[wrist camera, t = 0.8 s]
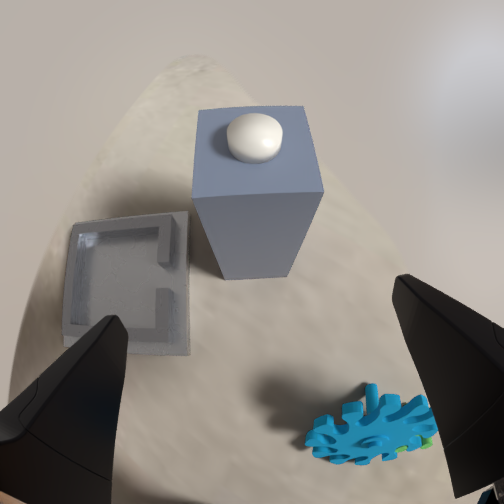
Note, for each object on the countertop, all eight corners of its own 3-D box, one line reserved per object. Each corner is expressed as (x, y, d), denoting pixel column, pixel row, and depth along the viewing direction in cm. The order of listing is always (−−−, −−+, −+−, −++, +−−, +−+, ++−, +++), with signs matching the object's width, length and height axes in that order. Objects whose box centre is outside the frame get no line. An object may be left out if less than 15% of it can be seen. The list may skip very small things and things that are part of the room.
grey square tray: (190, 355, 20) (182, 356, 18) (69, 347, 20) (53, 345, 18) (190, 215, 24) (184, 202, 22) (80, 226, 24) (67, 216, 22)
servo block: (287, 276, 22) (329, 180, 9) (225, 280, 22) (187, 186, 9) (281, 220, 24) (305, 94, 11) (223, 223, 24) (196, 98, 11)
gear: (278, 456, 16) (369, 396, 11) (289, 399, 21) (361, 324, 17) (384, 476, 16) (474, 423, 11) (382, 427, 21) (456, 368, 17)
